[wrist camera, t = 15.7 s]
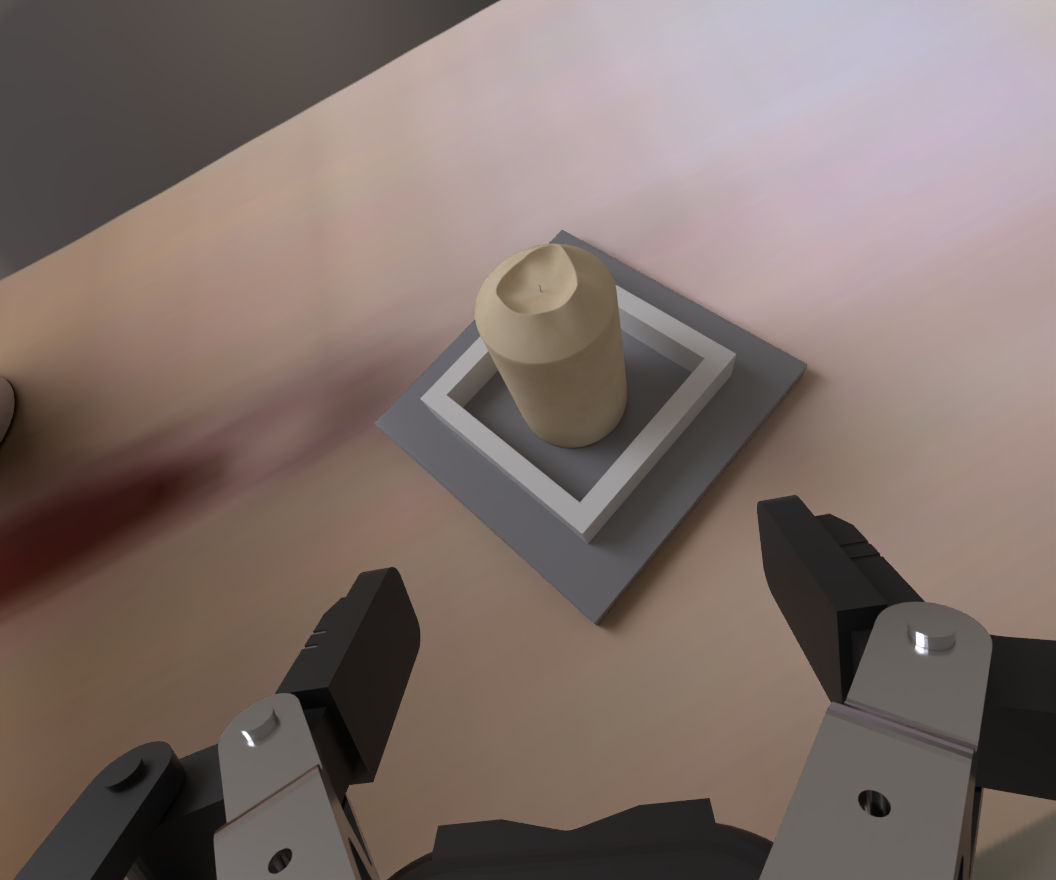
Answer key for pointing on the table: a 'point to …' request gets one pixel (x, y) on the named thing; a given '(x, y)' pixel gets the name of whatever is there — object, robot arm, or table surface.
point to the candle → (557, 341)
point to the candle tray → (607, 465)
